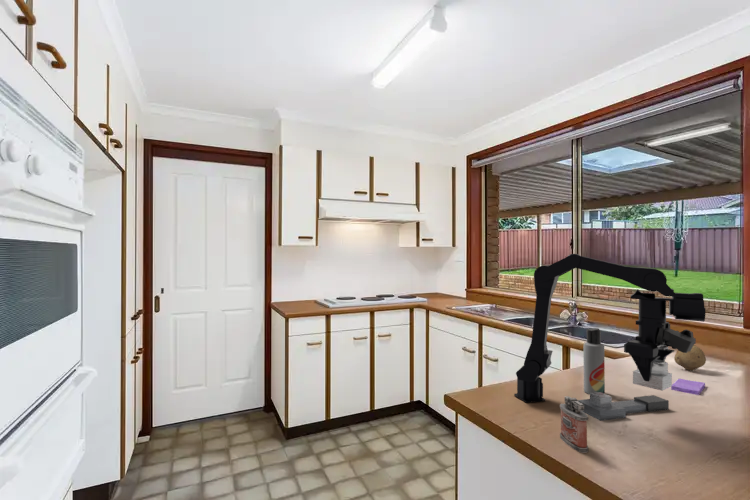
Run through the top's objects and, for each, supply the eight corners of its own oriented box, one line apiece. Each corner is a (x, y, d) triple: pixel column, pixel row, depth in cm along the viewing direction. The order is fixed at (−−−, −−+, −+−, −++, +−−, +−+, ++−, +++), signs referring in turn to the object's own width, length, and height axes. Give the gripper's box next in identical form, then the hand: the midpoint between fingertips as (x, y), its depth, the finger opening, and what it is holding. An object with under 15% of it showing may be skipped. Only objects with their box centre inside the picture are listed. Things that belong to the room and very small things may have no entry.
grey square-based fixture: (662, 390, 95) (662, 366, 95) (632, 383, 100) (632, 360, 100) (671, 385, 98) (671, 362, 99) (642, 379, 104) (642, 356, 104)
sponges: (670, 391, 125) (670, 385, 125) (678, 382, 133) (678, 377, 133) (699, 396, 119) (699, 390, 119) (705, 387, 128) (705, 382, 128)
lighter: (556, 435, 91) (556, 392, 91) (570, 435, 92) (569, 392, 92) (577, 452, 83) (576, 405, 83) (592, 452, 83) (591, 405, 84)
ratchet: (600, 420, 100) (600, 401, 100) (577, 409, 108) (576, 391, 108) (675, 412, 106) (674, 394, 106) (648, 402, 114) (647, 384, 114)
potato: (713, 374, 141) (713, 347, 141) (688, 374, 141) (688, 346, 142) (693, 367, 150) (693, 341, 150) (670, 367, 150) (670, 341, 151)
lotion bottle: (607, 396, 118) (607, 330, 118) (587, 395, 119) (586, 329, 119) (600, 390, 123) (600, 327, 124) (581, 389, 124) (580, 326, 125)
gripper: (678, 325, 87) (677, 395, 87) (703, 318, 98) (703, 380, 98) (623, 318, 96) (622, 381, 96) (652, 313, 107) (651, 369, 107)
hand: (651, 378), depth 99 cm, fingers closed on grey square-based fixture, 6 cm apart
